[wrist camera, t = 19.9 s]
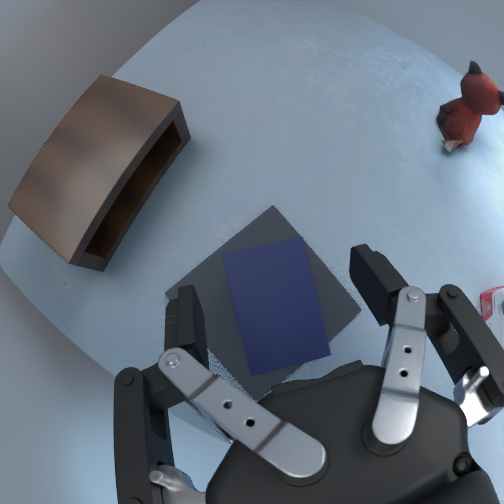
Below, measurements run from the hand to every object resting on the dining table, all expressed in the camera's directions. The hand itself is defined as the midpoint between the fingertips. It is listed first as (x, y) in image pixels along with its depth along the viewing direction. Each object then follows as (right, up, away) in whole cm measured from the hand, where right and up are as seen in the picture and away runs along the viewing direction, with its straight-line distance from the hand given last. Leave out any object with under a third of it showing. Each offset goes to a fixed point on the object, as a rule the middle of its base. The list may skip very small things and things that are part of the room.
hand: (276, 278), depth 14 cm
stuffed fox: (+28, +19, +19) cm, 38 cm away
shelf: (-18, +10, +16) cm, 26 cm away
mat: (0, -4, +14) cm, 15 cm away
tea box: (0, -4, +14) cm, 14 cm away
